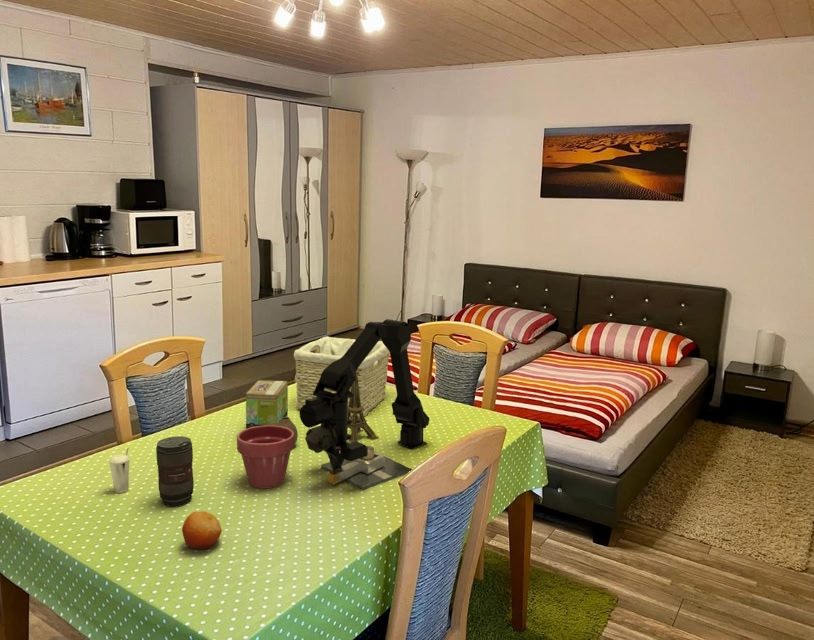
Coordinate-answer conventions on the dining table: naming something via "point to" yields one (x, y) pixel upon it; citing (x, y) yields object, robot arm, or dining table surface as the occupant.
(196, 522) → the fruit
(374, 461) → the square nut with handle
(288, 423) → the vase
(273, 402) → the tea box
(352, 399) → the eiffel tower
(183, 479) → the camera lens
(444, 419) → the dining table surface
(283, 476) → the plant pot
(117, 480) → the milkshake
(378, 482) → the post base
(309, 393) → the basket
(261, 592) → the dining table surface
